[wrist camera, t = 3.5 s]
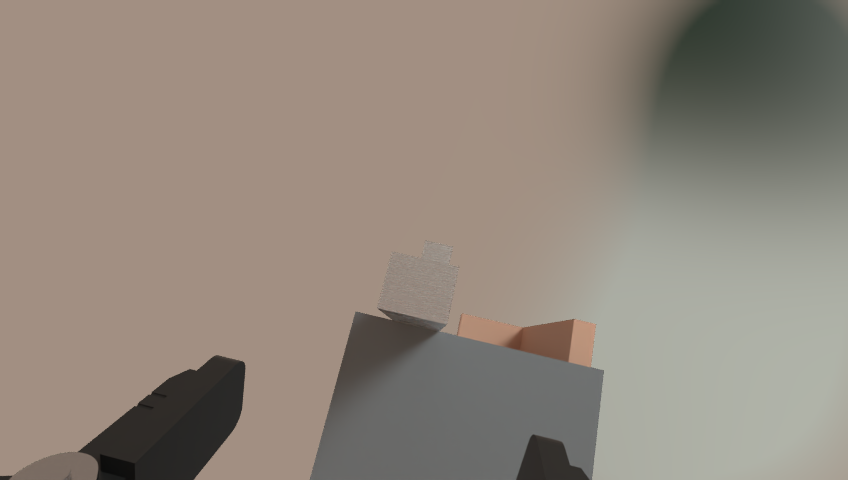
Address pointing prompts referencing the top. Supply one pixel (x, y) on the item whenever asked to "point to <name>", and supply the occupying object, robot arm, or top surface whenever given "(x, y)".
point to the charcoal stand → (458, 400)
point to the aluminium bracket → (420, 287)
